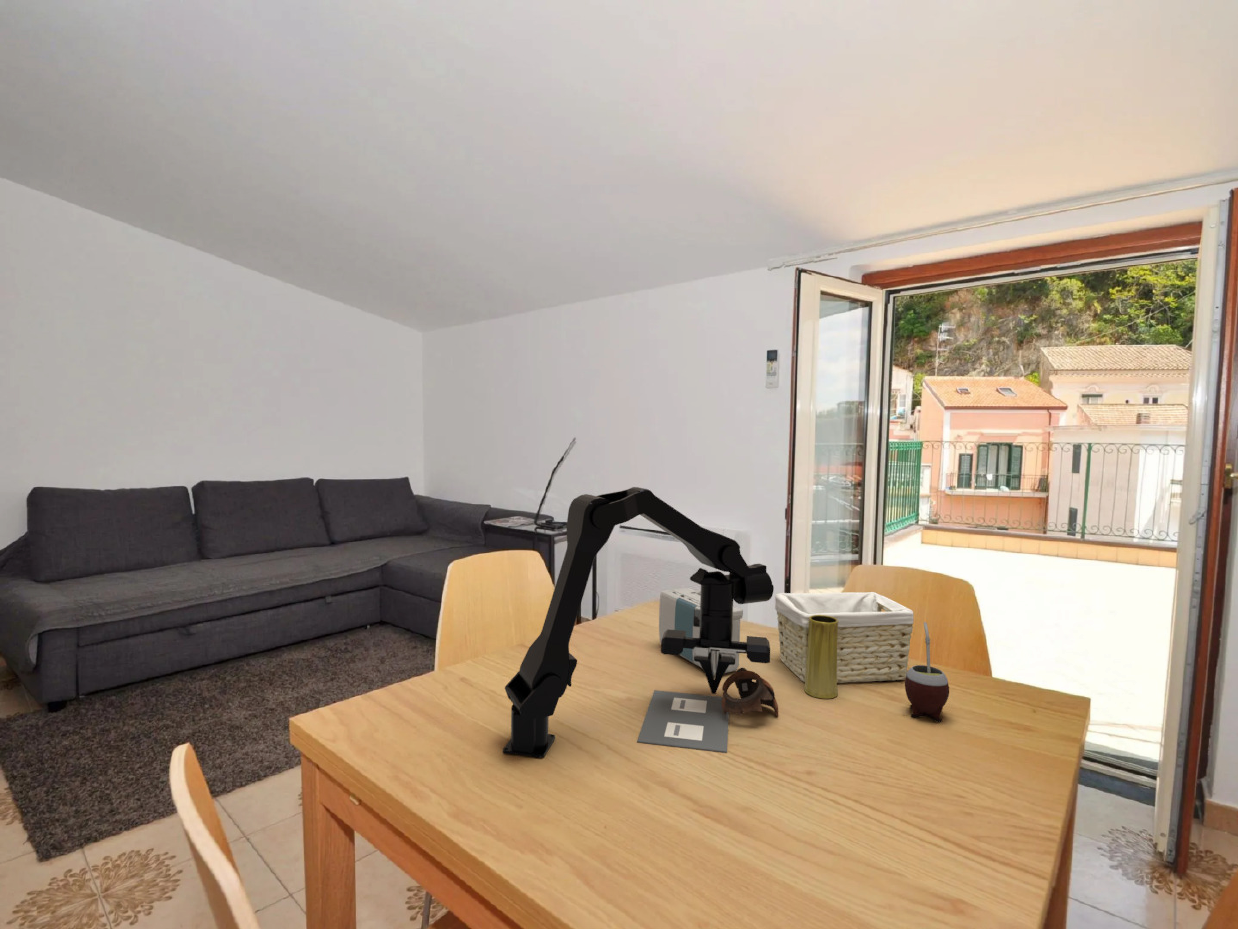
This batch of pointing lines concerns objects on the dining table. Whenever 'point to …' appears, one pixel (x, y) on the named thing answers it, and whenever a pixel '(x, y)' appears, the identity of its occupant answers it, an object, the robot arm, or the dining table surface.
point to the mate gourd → (926, 688)
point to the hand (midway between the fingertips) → (713, 693)
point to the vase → (822, 657)
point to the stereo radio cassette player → (691, 620)
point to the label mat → (685, 721)
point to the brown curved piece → (748, 693)
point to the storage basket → (848, 633)
